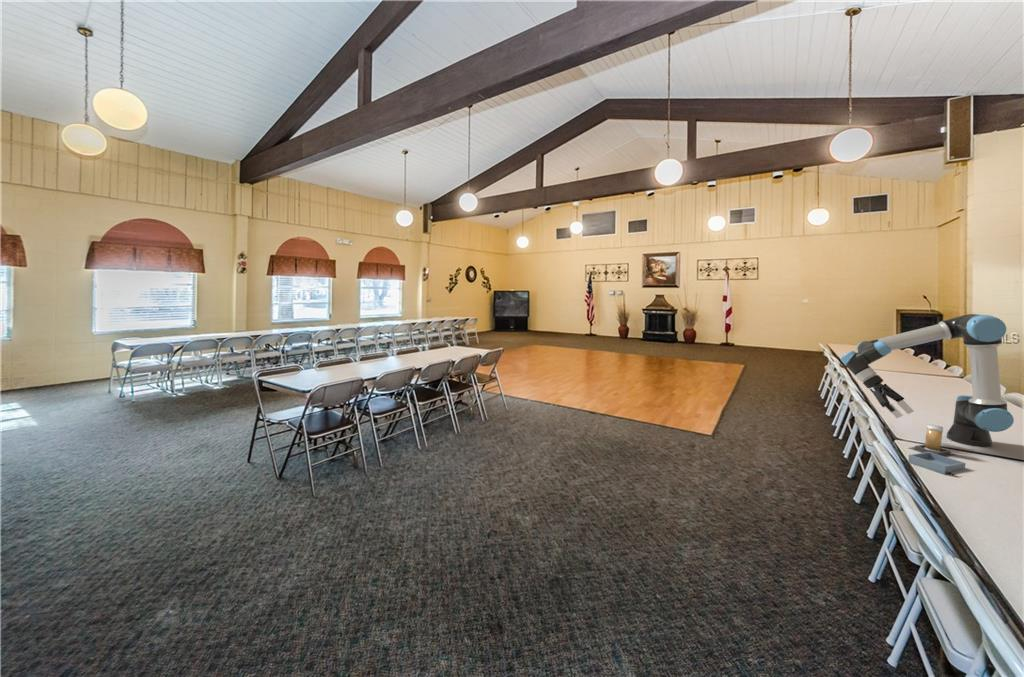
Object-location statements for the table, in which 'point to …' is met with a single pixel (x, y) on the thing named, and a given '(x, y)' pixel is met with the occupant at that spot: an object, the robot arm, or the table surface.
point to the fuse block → (942, 451)
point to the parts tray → (936, 462)
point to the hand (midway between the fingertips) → (905, 414)
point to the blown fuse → (933, 438)
